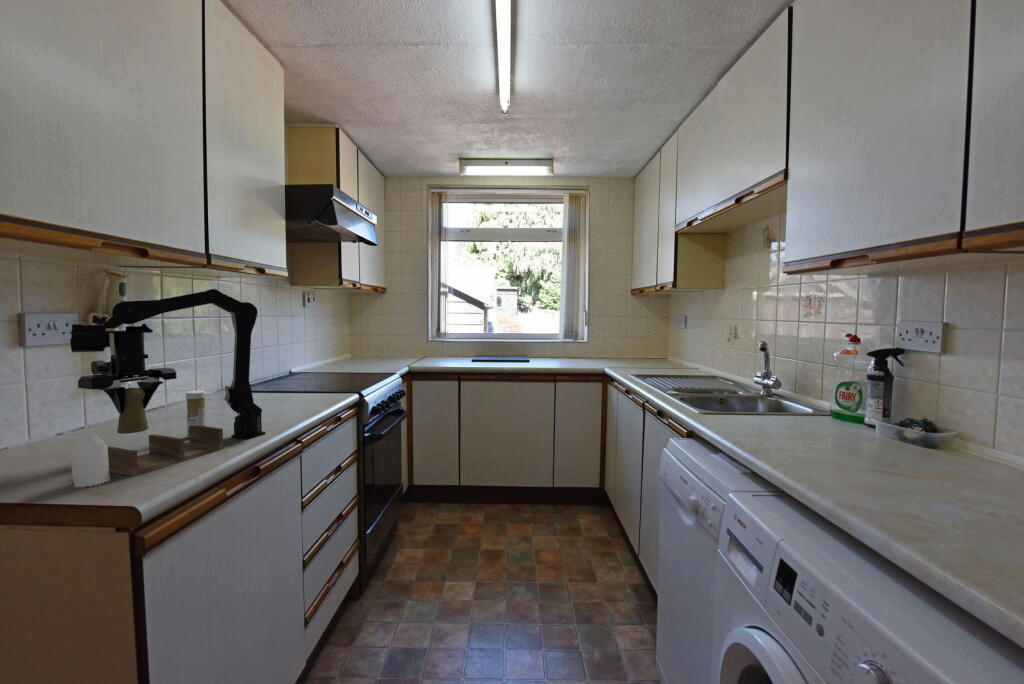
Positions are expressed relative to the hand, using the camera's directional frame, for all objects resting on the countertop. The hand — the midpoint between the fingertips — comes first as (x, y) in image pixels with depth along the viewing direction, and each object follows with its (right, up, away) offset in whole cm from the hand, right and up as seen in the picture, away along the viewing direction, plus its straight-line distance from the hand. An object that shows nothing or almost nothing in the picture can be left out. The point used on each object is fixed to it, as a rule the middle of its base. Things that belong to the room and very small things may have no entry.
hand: (132, 411), depth 109 cm
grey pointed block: (+7, -13, -18) cm, 23 cm away
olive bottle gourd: (0, -5, 0) cm, 5 cm away
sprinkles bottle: (+5, -10, +16) cm, 20 cm away
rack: (+11, -11, -3) cm, 16 cm away
